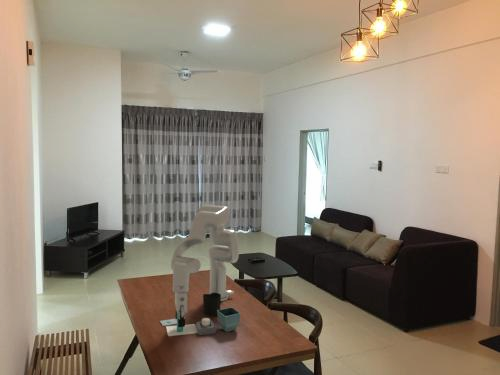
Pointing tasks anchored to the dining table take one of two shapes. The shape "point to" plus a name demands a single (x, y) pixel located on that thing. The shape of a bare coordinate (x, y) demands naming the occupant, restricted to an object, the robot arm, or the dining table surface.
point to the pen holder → (211, 304)
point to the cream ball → (205, 322)
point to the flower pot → (228, 318)
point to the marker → (180, 329)
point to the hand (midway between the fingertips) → (180, 322)
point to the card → (168, 322)
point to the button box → (205, 328)
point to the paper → (186, 330)
